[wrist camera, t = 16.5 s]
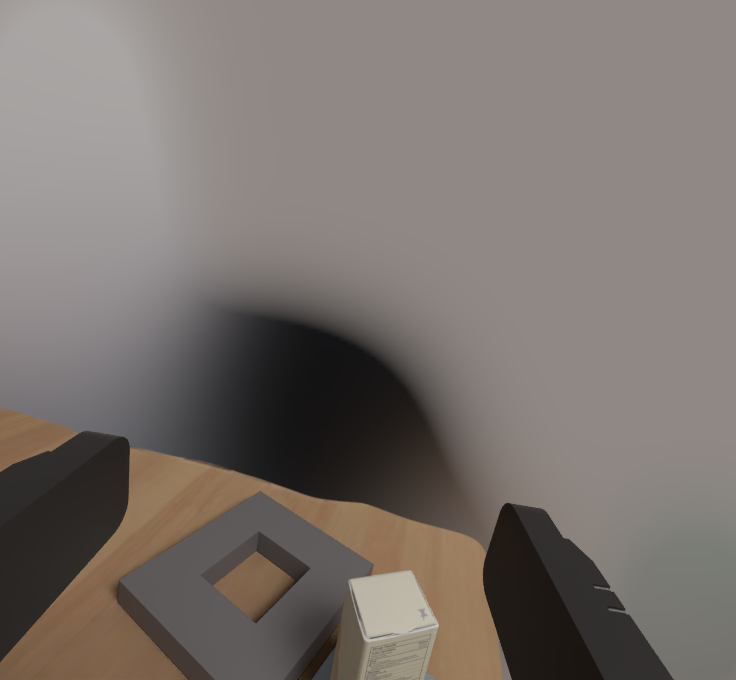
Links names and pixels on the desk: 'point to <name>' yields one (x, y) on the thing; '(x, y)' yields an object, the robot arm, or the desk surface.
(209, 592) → the socket block
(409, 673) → the box
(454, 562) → the desk surface
